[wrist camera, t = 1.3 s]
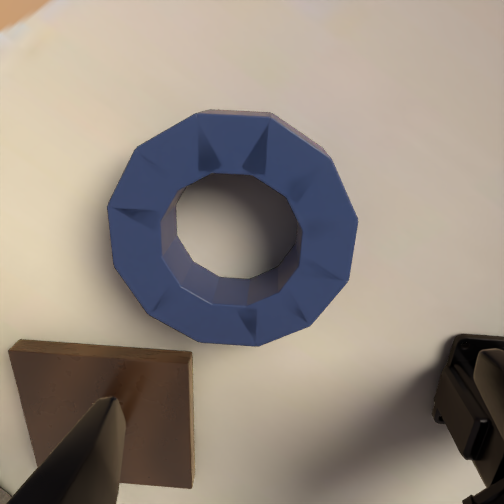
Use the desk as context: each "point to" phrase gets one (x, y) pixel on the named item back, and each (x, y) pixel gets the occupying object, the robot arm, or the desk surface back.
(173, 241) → the ring
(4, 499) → the phone
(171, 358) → the post
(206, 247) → the desk surface
